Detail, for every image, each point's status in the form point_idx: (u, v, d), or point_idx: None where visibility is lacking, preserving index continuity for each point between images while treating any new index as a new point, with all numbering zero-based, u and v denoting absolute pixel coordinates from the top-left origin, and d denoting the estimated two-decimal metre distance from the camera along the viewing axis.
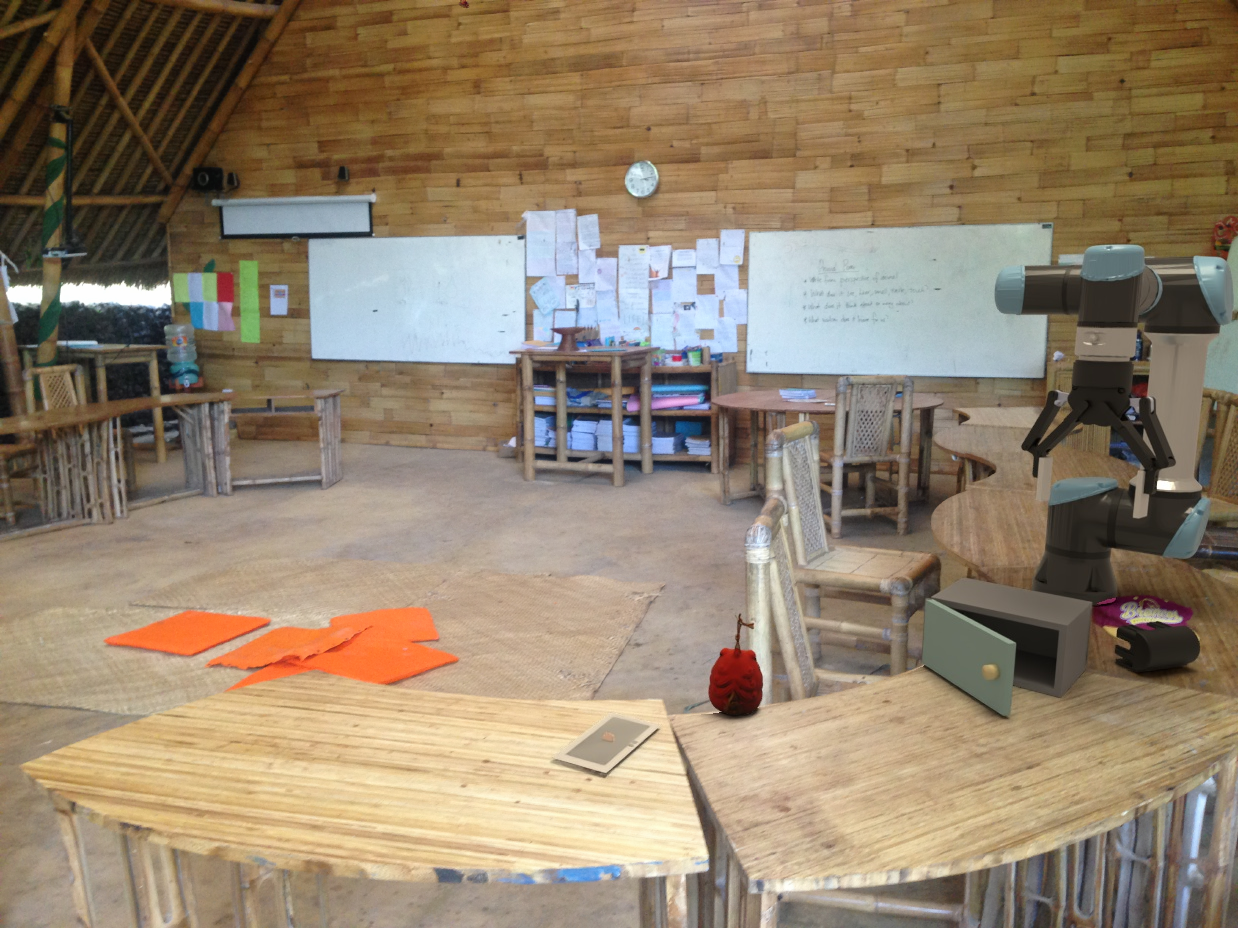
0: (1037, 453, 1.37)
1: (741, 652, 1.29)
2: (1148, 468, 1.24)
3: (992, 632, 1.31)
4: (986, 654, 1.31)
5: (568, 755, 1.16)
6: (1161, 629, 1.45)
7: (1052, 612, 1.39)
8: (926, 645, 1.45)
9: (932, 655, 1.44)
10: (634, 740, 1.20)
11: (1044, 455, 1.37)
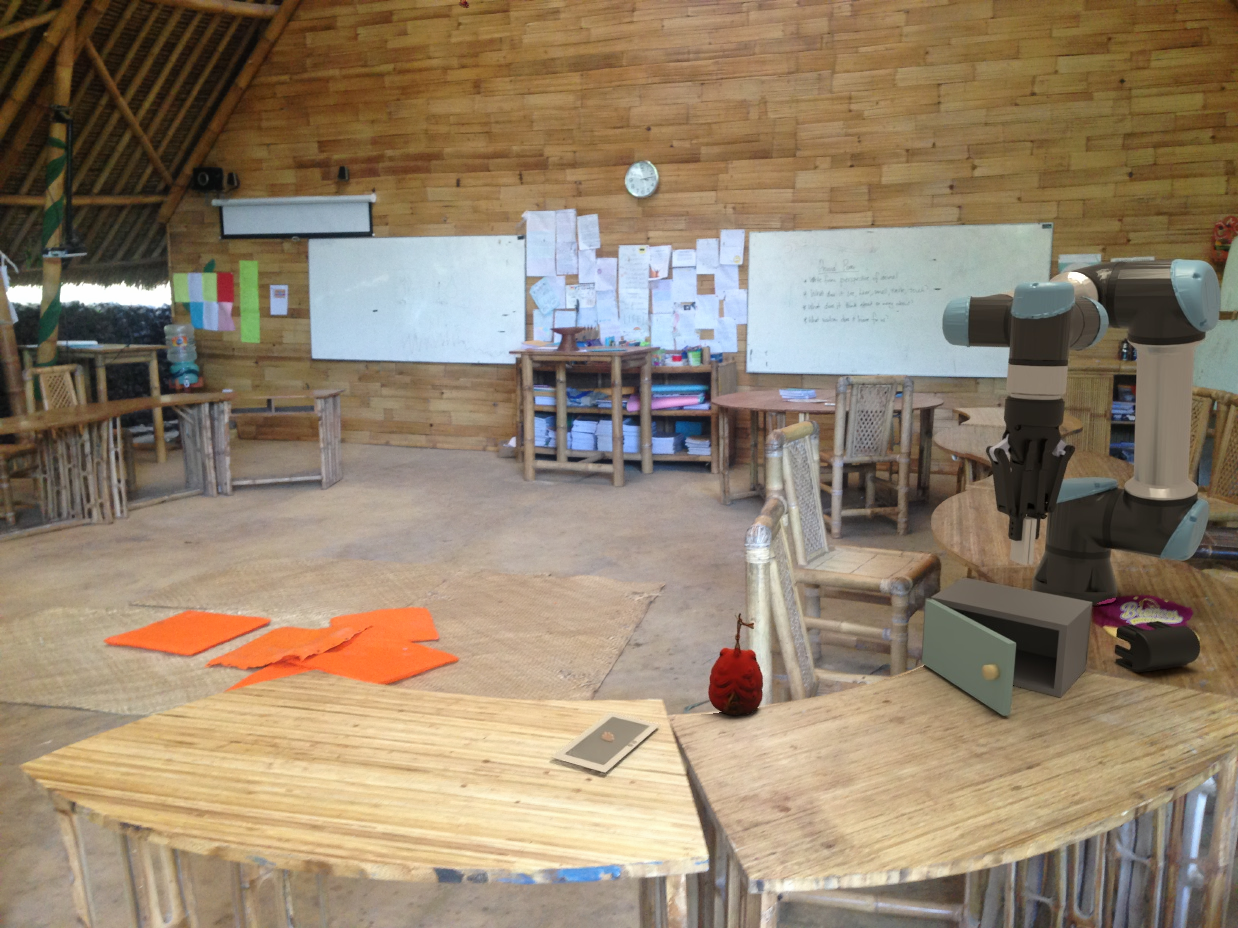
0: None
1: (741, 652, 1.29)
2: None
3: (992, 632, 1.31)
4: (986, 654, 1.31)
5: (567, 754, 1.16)
6: (1161, 629, 1.45)
7: (1052, 612, 1.39)
8: (926, 645, 1.45)
9: (932, 655, 1.44)
10: (633, 740, 1.20)
11: (1030, 515, 1.31)
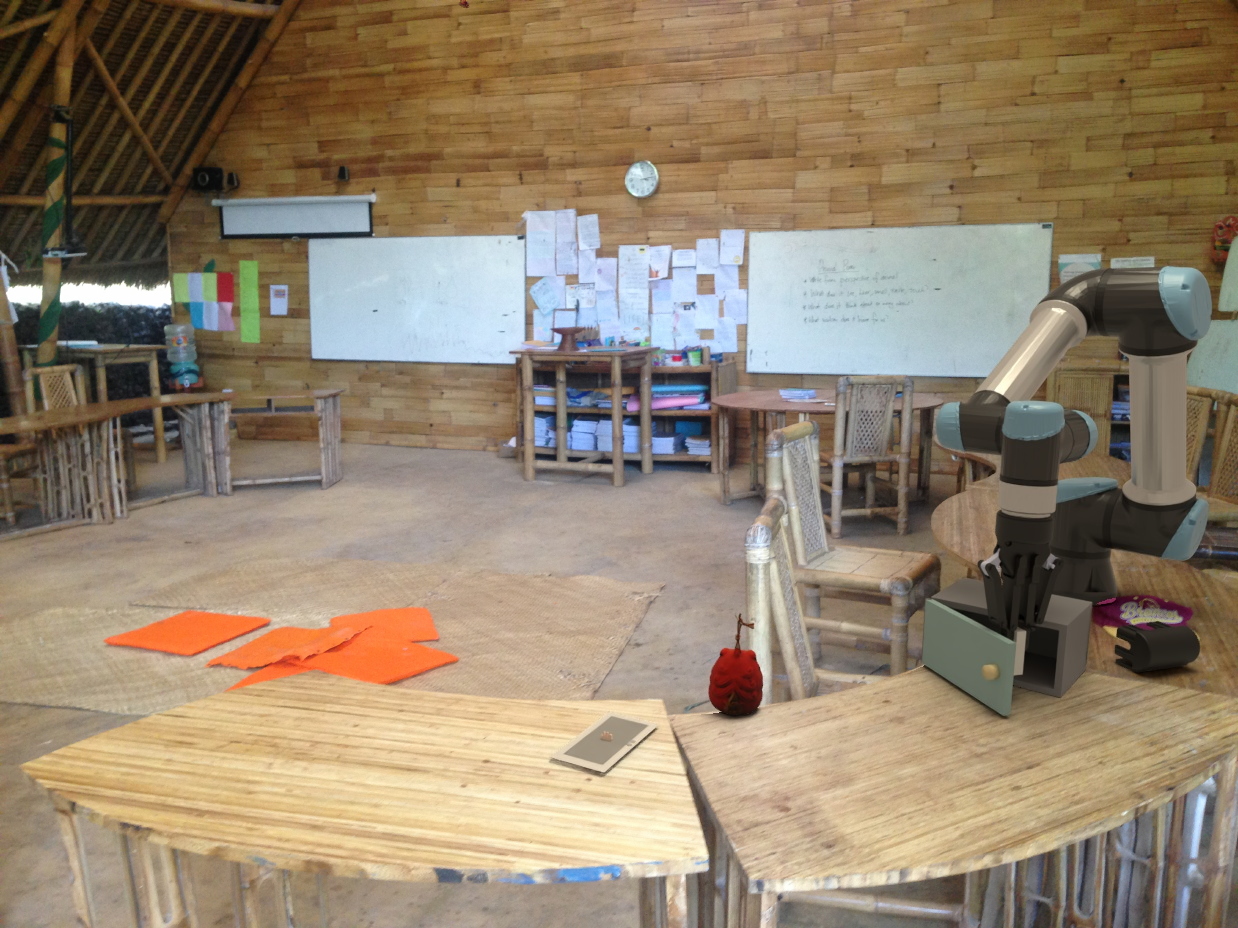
0: None
1: (741, 652, 1.29)
2: None
3: (992, 632, 1.31)
4: (986, 654, 1.31)
5: (566, 754, 1.16)
6: (1161, 629, 1.45)
7: (1052, 612, 1.39)
8: (926, 645, 1.45)
9: (932, 655, 1.44)
10: (632, 739, 1.20)
11: (1020, 626, 1.33)
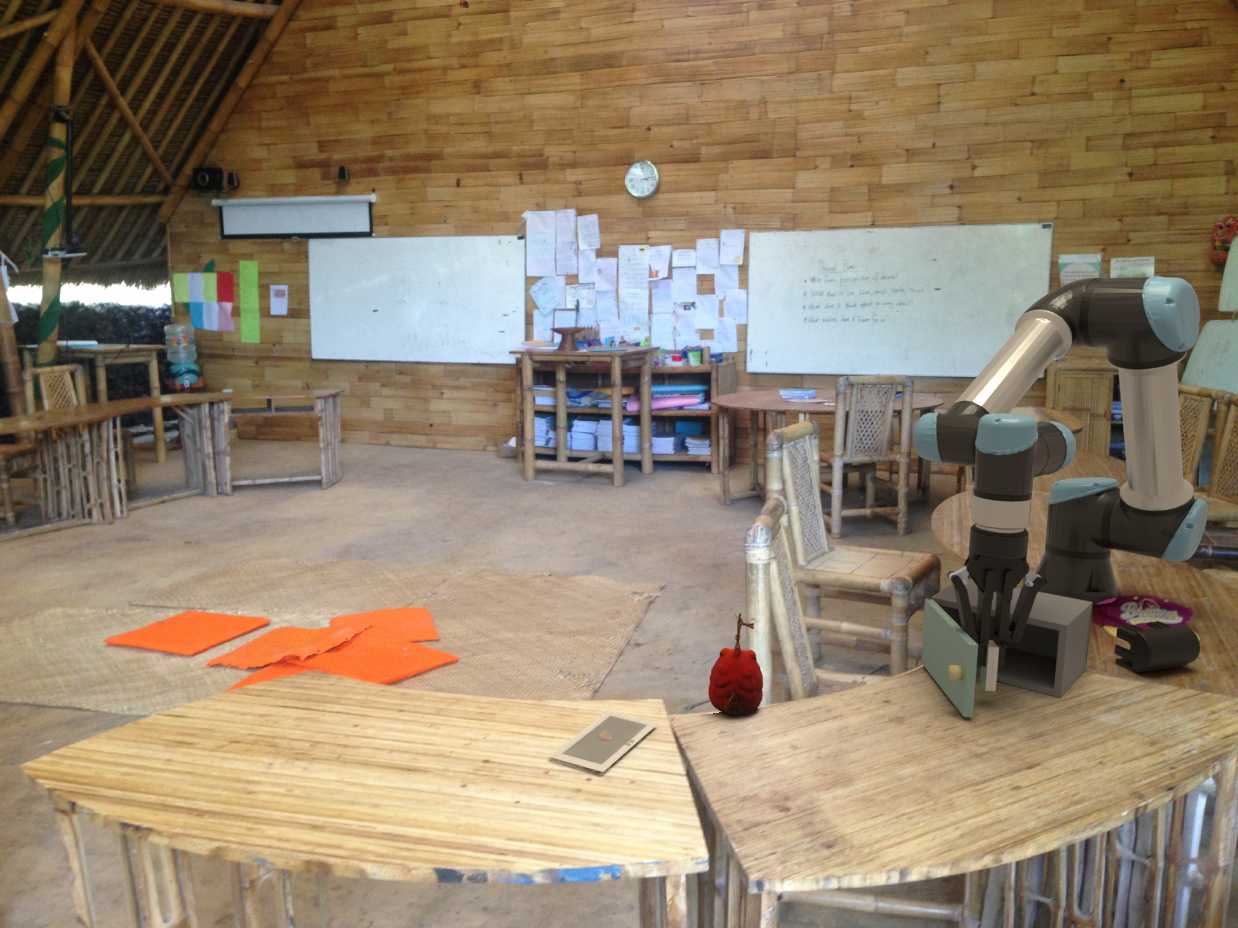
0: None
1: (741, 652, 1.29)
2: None
3: (963, 633, 1.30)
4: (956, 655, 1.31)
5: (565, 754, 1.16)
6: (1161, 629, 1.45)
7: (1052, 612, 1.39)
8: (924, 645, 1.46)
9: (927, 655, 1.44)
10: (631, 739, 1.21)
11: (995, 642, 1.32)
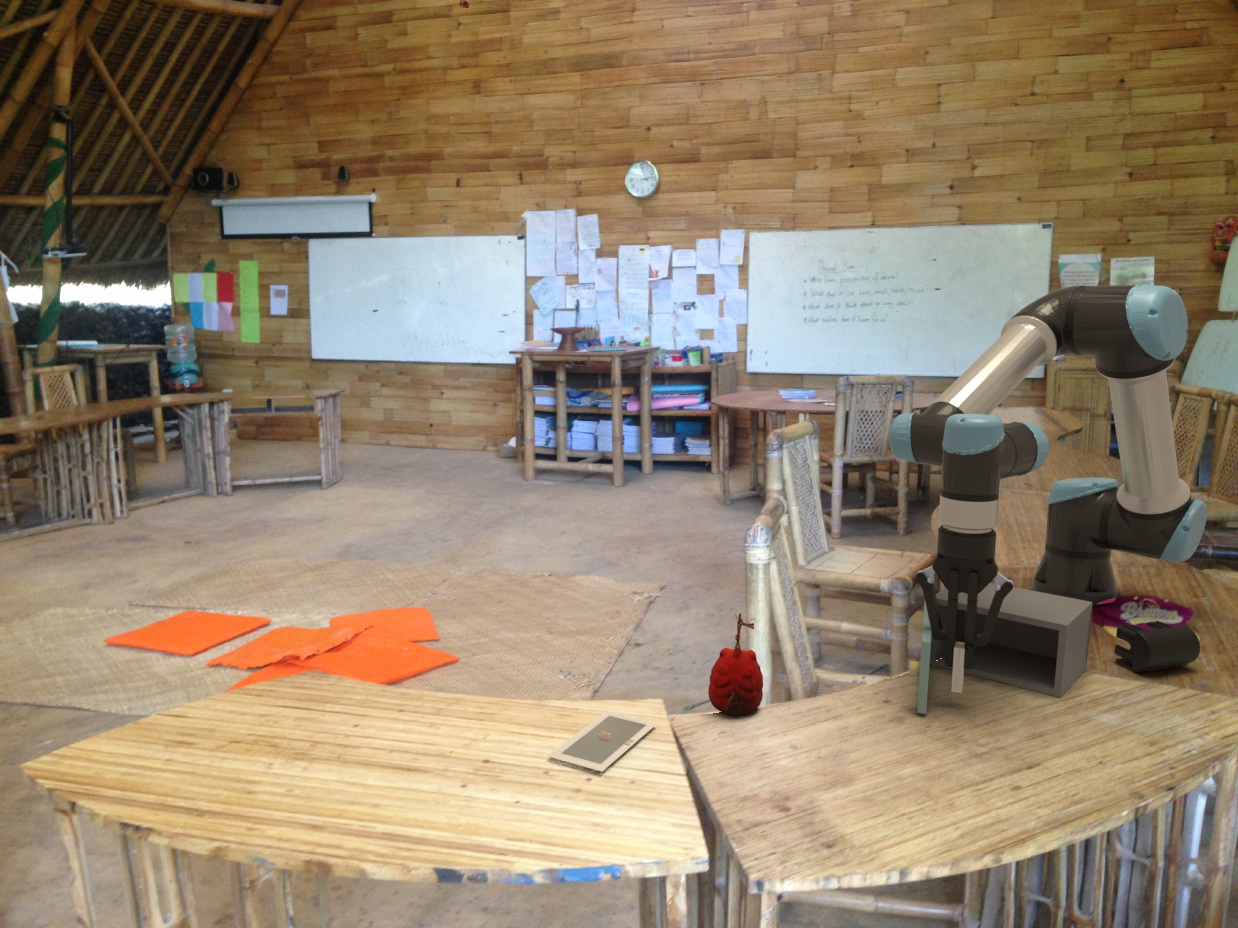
0: None
1: (741, 652, 1.29)
2: None
3: (927, 631, 1.31)
4: None
5: (564, 753, 1.16)
6: (1161, 629, 1.45)
7: (1052, 612, 1.39)
8: None
9: None
10: (630, 739, 1.21)
11: (964, 644, 1.31)
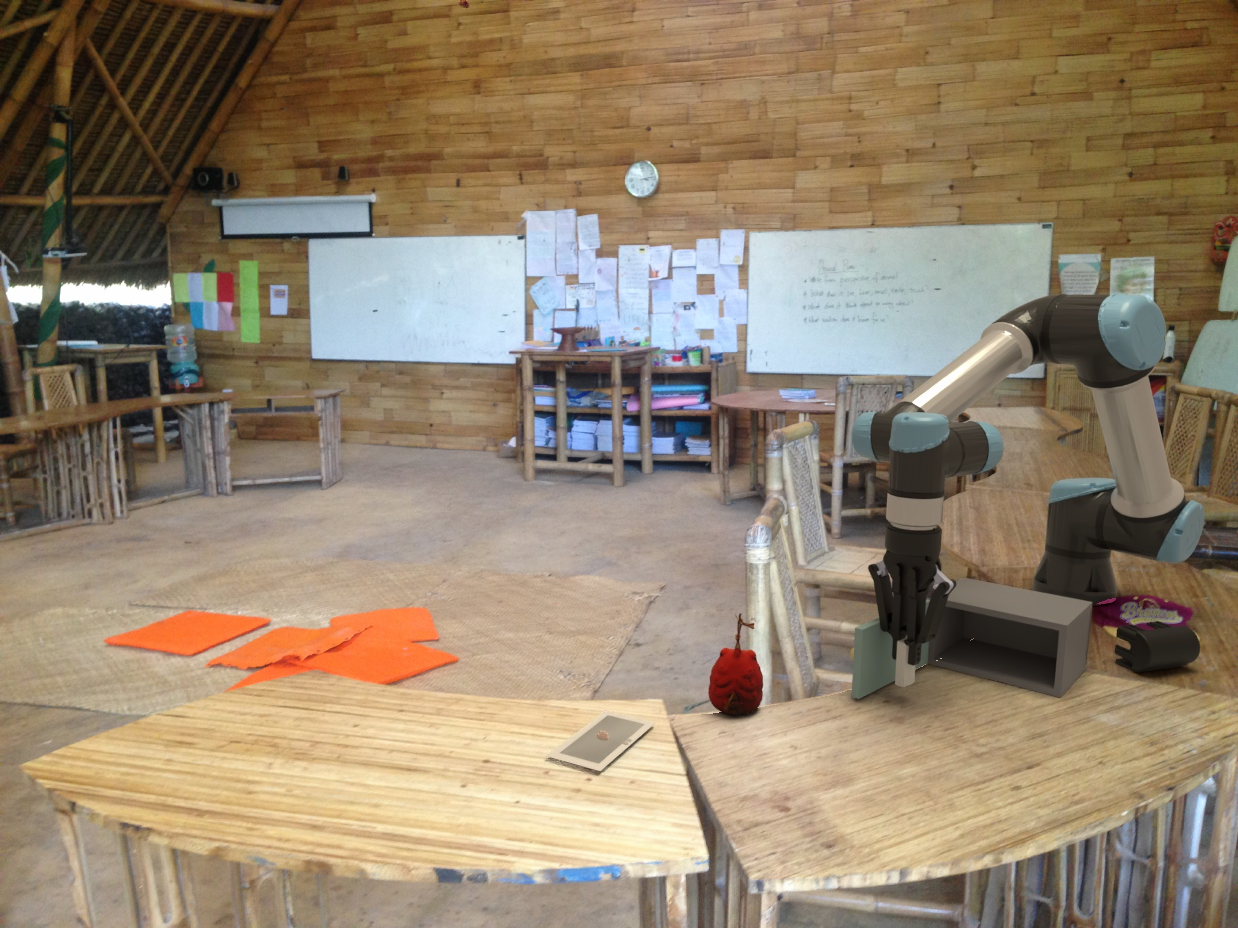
0: None
1: (741, 652, 1.29)
2: None
3: (875, 621, 1.35)
4: None
5: (562, 753, 1.17)
6: (1161, 629, 1.45)
7: (1052, 612, 1.39)
8: None
9: None
10: (628, 738, 1.21)
11: None
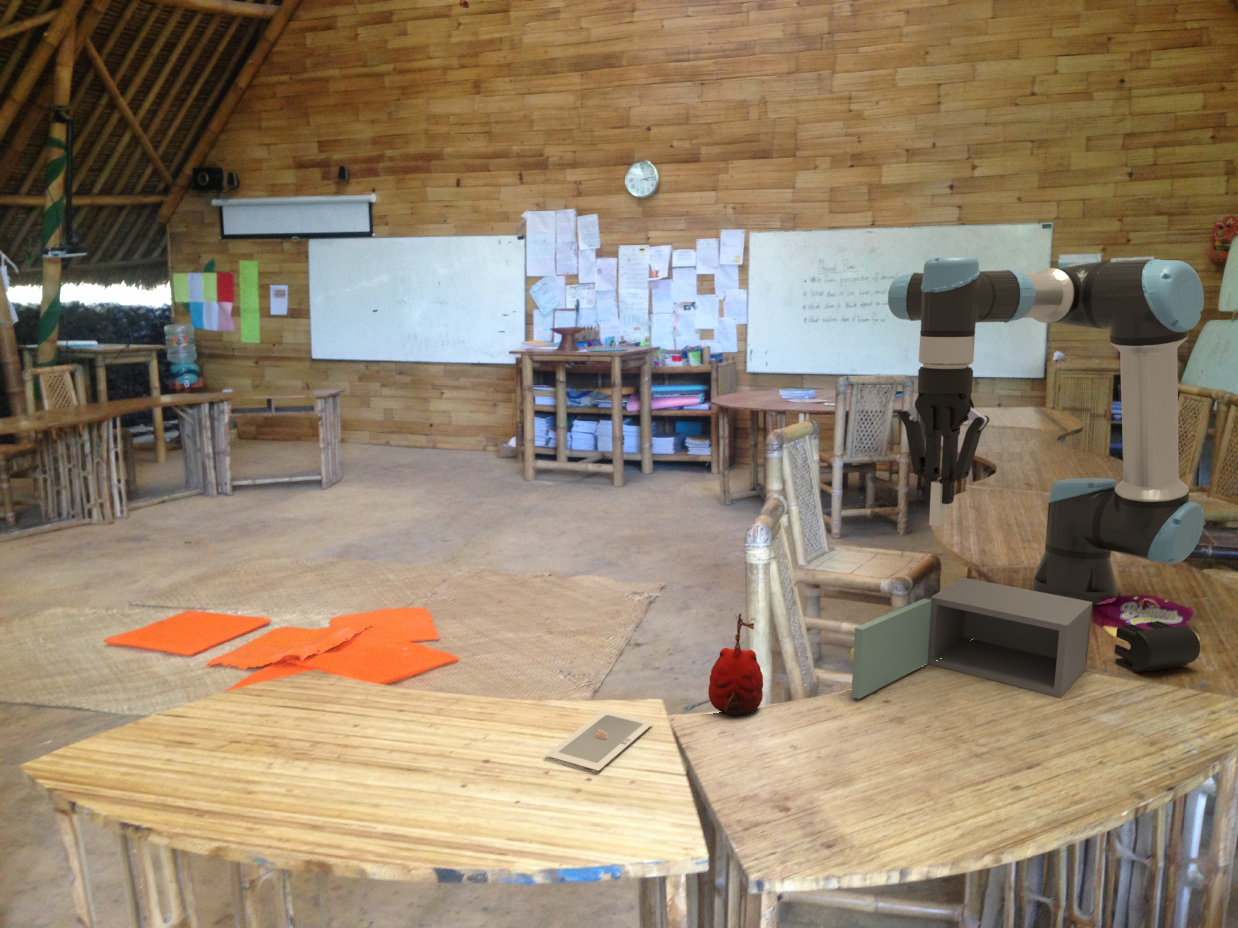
0: None
1: (741, 652, 1.29)
2: None
3: (875, 621, 1.35)
4: None
5: (561, 752, 1.17)
6: (1161, 629, 1.45)
7: (1052, 612, 1.39)
8: None
9: None
10: (626, 737, 1.21)
11: None
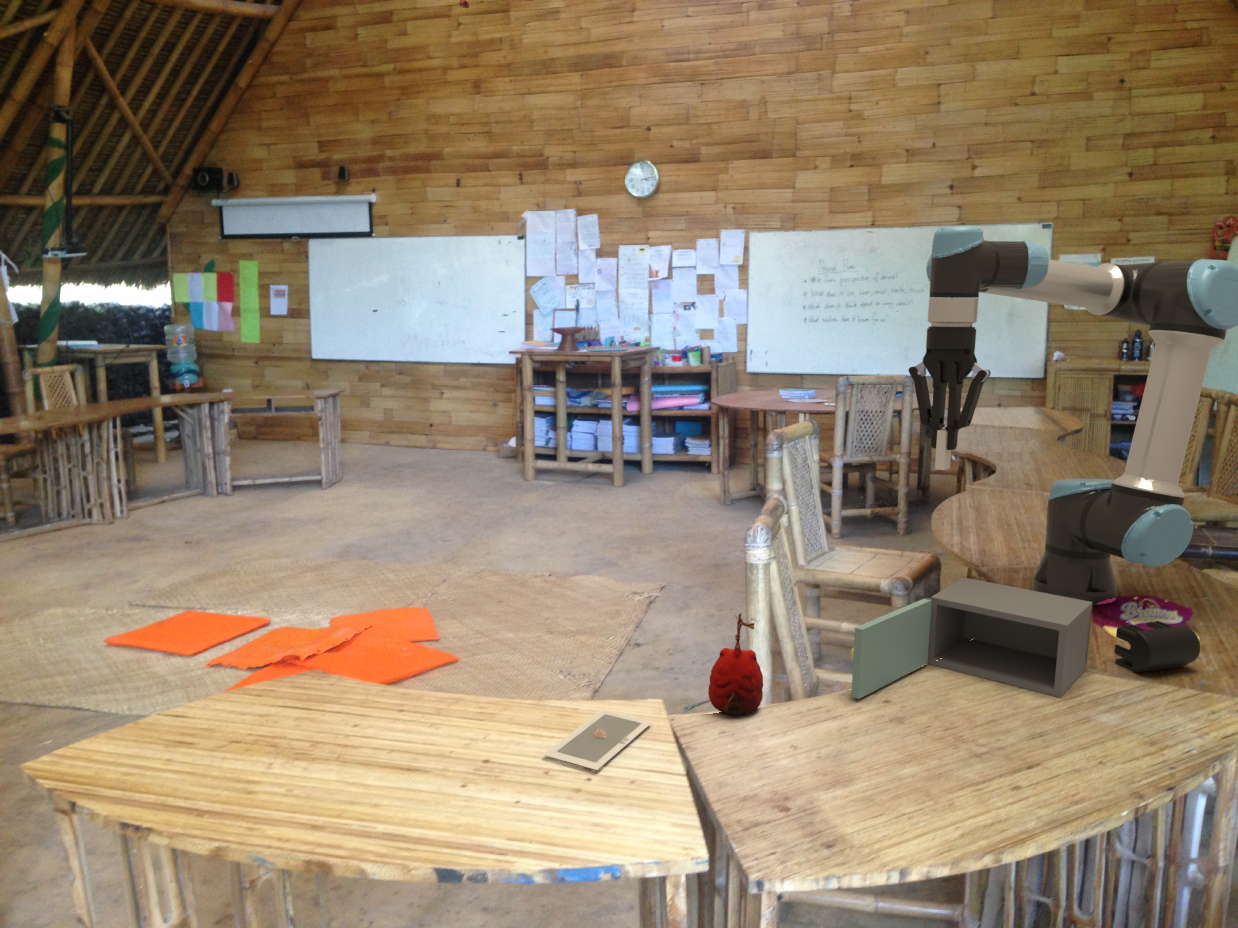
0: None
1: (741, 652, 1.29)
2: None
3: (875, 621, 1.35)
4: None
5: (559, 752, 1.17)
6: (1161, 629, 1.45)
7: (1052, 612, 1.39)
8: None
9: None
10: (625, 737, 1.21)
11: None
